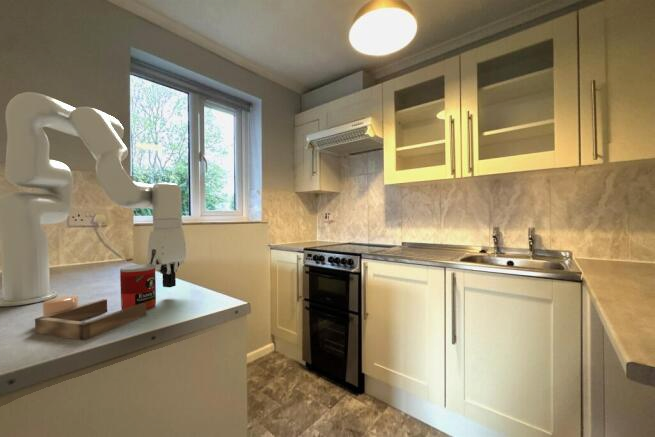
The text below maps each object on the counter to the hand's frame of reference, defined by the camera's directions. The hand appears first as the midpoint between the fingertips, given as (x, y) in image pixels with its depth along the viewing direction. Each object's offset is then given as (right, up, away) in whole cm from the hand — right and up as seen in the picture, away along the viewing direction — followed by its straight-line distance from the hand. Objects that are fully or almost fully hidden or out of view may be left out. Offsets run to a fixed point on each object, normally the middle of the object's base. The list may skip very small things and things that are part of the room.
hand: (169, 286), depth 85 cm
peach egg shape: (-15, -4, -18) cm, 24 cm away
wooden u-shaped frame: (-6, -4, -20) cm, 21 cm away
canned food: (-3, -4, -10) cm, 11 cm away
